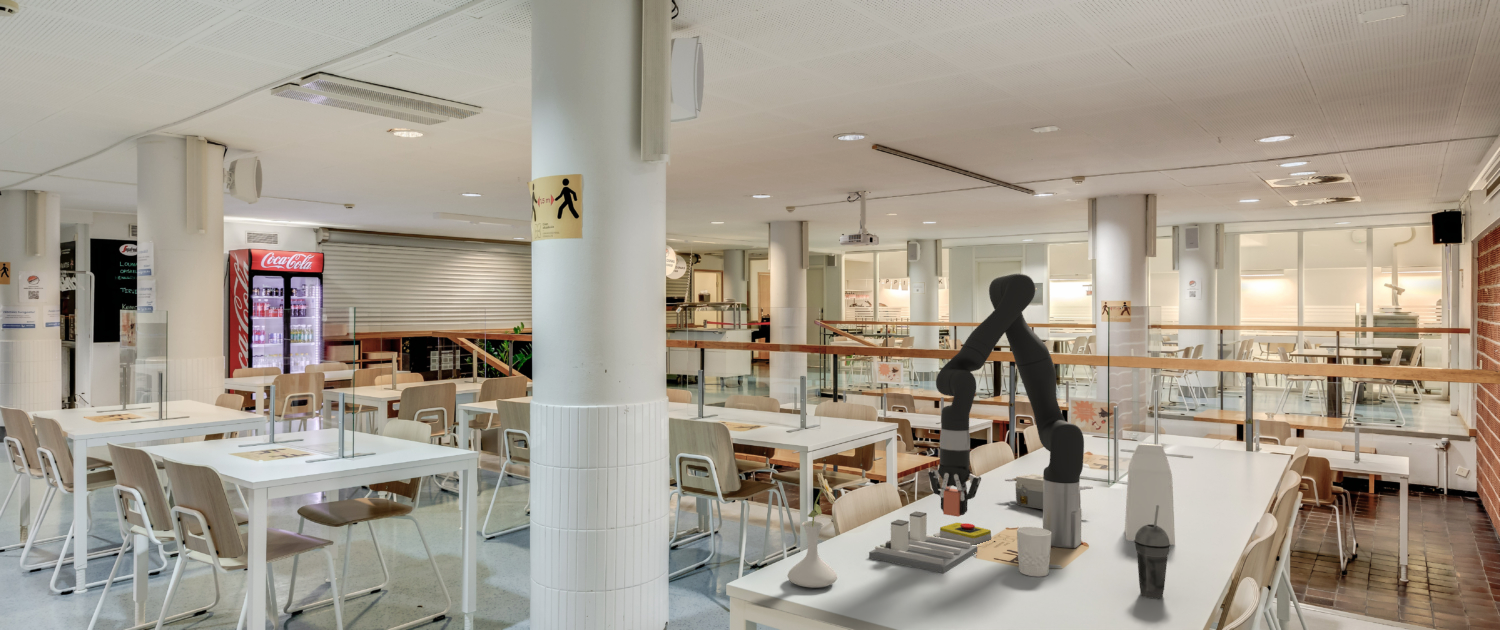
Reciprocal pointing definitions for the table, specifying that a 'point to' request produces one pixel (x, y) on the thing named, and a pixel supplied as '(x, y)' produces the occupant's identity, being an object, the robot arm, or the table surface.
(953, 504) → the cap
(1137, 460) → the milk
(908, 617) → the table surface
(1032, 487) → the grey labelled box
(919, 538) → the off-white rectangular block
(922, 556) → the board
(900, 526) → the block
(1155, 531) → the beverage cup
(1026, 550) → the white cup
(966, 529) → the emergency button
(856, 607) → the table surface
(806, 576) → the flower in vase
